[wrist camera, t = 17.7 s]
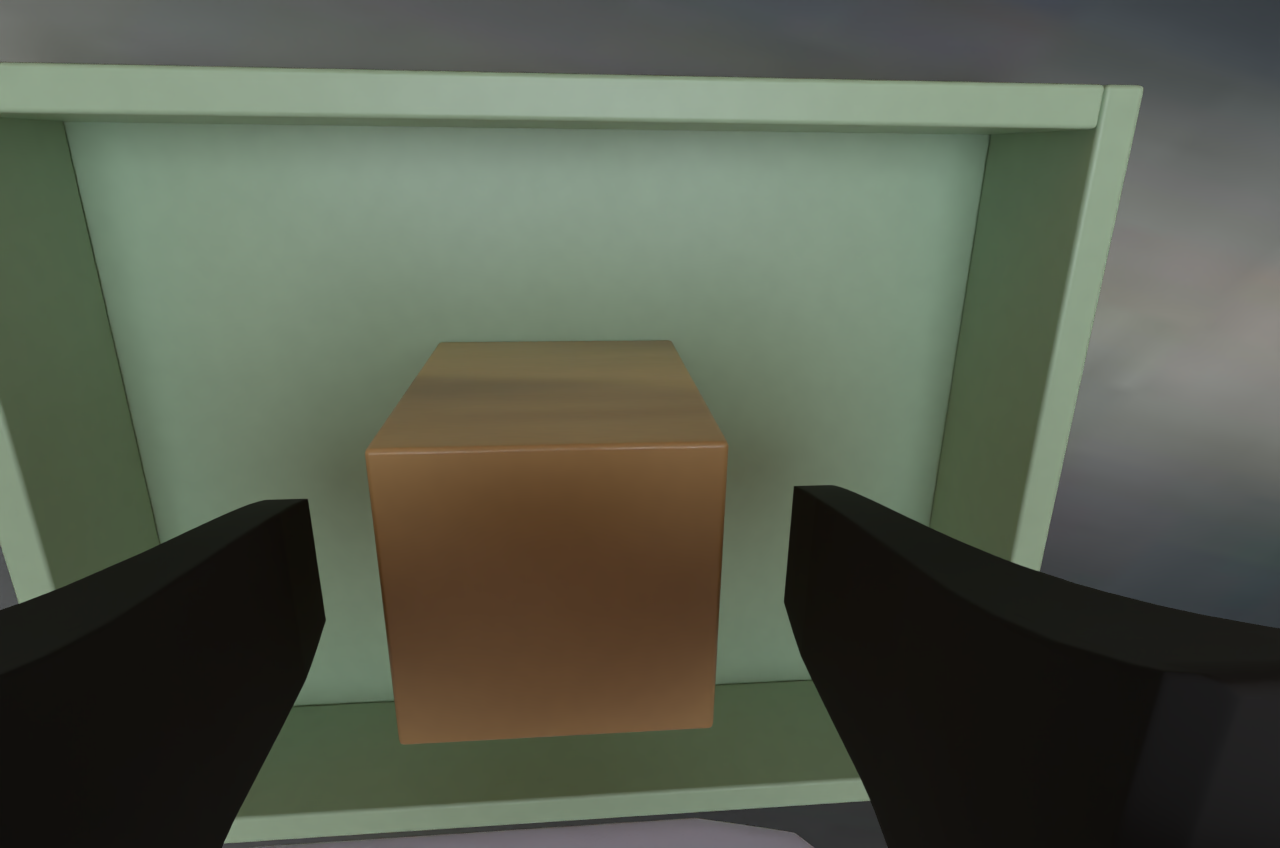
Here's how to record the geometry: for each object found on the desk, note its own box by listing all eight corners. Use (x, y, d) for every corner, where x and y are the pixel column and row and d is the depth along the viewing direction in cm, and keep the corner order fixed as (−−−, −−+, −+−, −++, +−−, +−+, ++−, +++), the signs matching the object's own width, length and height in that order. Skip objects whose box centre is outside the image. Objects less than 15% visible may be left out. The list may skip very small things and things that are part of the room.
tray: (917, 680, 18) (993, 794, 15) (186, 717, 17) (94, 854, 14) (1011, 101, 14) (1147, 84, 11) (36, 83, 12) (-153, 58, 9)
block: (666, 543, 16) (713, 730, 11) (454, 550, 16) (398, 747, 10) (672, 339, 14) (730, 441, 9) (438, 341, 14) (361, 450, 9)
